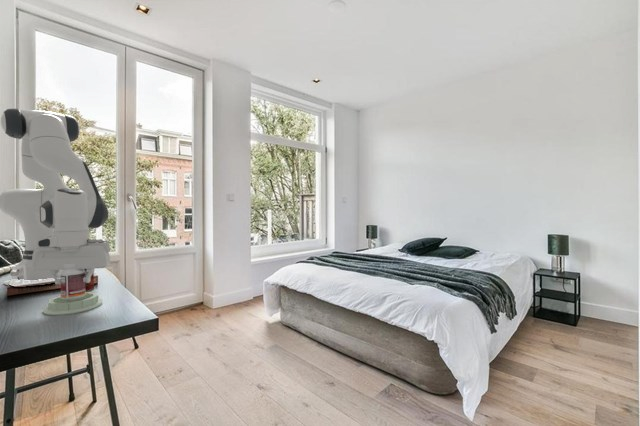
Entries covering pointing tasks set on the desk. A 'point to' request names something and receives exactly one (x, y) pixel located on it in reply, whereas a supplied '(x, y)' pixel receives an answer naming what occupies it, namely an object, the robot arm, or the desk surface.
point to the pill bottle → (72, 282)
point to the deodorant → (91, 284)
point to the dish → (45, 310)
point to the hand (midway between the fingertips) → (73, 283)
